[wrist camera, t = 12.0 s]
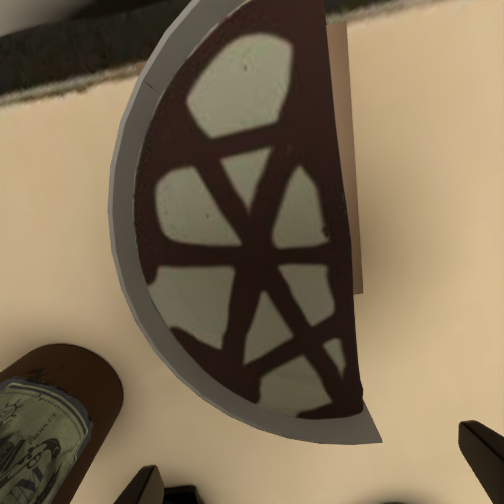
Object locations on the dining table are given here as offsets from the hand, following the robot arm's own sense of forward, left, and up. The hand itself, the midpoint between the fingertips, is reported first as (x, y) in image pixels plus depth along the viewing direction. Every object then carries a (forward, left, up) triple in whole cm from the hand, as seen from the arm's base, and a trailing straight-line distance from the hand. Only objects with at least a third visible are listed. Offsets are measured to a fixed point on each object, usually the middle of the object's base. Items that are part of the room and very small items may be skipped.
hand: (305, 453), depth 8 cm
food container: (-1, +6, -10) cm, 12 cm away
